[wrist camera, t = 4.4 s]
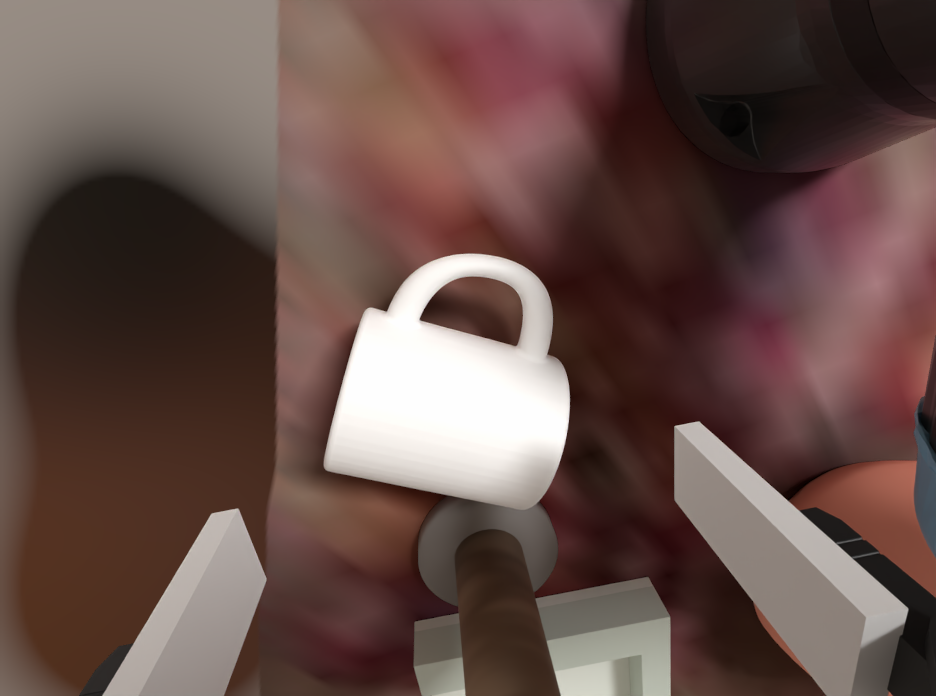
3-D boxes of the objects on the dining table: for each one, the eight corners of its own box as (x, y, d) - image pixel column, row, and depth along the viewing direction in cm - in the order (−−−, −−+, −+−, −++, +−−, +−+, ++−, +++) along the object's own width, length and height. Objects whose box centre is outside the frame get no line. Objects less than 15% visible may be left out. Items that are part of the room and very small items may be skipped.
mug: (500, 453, 30) (526, 546, 22) (340, 417, 28) (311, 506, 21) (570, 269, 26) (628, 308, 19) (391, 214, 24) (377, 234, 17)
